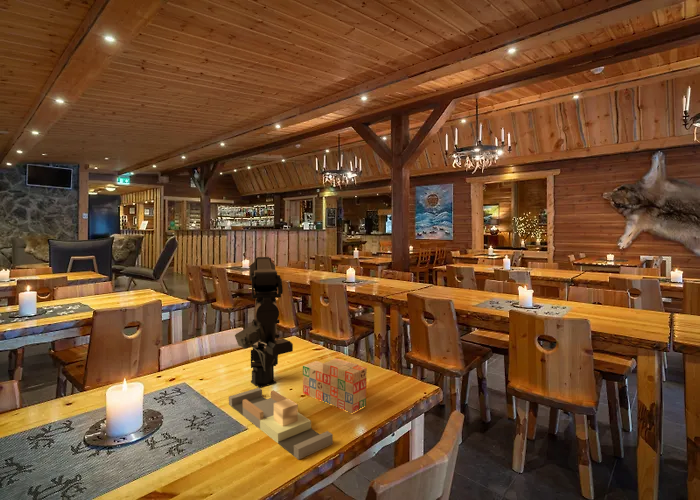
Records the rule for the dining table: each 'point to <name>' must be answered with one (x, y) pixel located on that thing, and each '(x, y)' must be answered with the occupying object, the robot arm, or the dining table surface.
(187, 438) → the dining table surface
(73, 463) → the dining table surface
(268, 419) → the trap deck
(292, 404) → the maple block
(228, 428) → the dining table surface
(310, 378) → the stack of blocks
